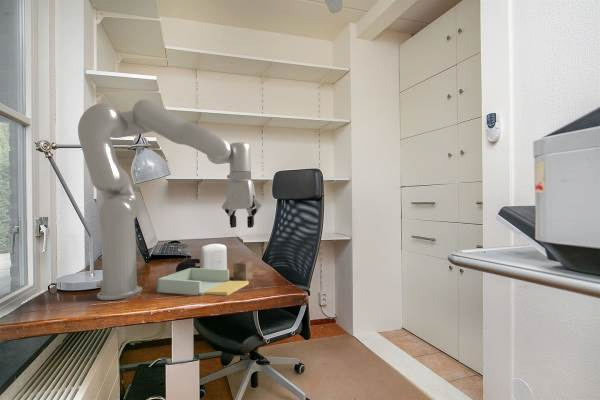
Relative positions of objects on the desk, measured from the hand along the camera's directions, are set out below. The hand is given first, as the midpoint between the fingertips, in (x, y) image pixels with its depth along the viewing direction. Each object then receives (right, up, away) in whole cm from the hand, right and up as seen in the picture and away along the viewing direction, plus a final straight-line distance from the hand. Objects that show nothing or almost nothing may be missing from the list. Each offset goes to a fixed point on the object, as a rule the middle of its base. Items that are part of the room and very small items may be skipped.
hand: (241, 226), depth 115 cm
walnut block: (+1, -20, 0) cm, 20 cm away
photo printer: (-13, -20, +11) cm, 26 cm away
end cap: (-23, -21, +10) cm, 32 cm away
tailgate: (-6, -19, -11) cm, 23 cm away
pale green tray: (-14, -20, -9) cm, 26 cm away
